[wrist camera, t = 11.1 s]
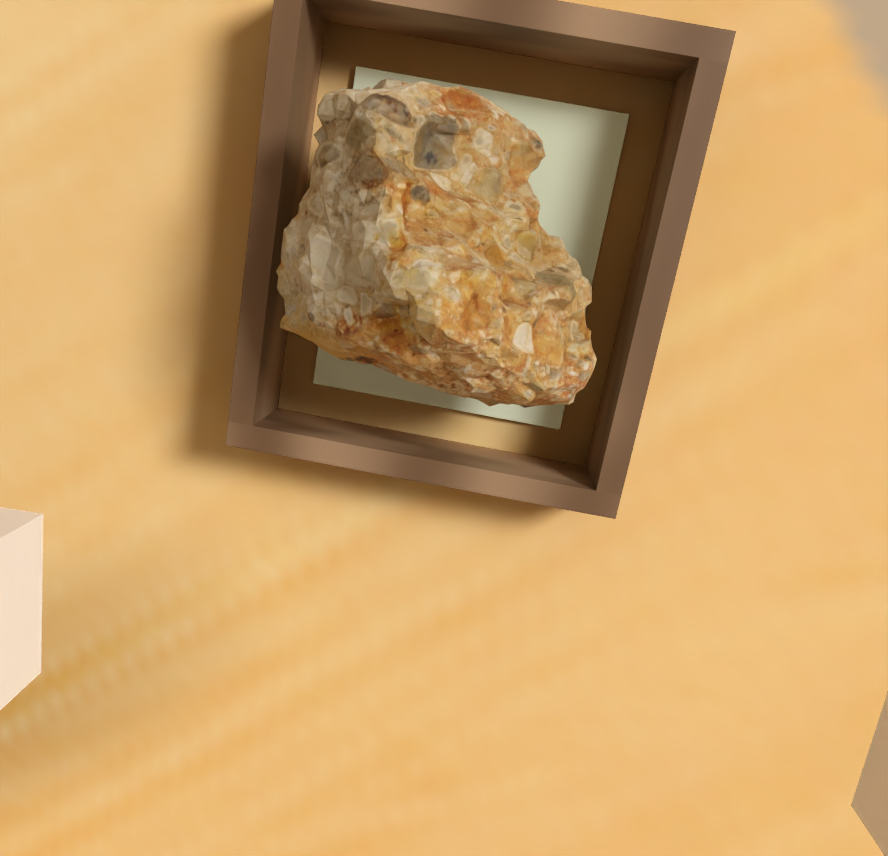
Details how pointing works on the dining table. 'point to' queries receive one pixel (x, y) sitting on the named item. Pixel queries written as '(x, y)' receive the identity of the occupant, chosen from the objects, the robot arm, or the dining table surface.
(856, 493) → the dining table surface
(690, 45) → the brown wooden tray
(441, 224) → the rock
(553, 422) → the pad
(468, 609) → the dining table surface
